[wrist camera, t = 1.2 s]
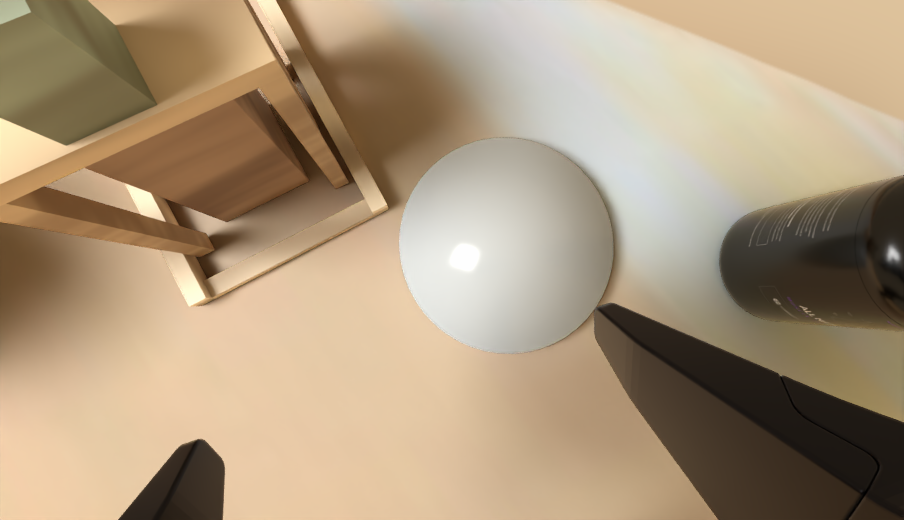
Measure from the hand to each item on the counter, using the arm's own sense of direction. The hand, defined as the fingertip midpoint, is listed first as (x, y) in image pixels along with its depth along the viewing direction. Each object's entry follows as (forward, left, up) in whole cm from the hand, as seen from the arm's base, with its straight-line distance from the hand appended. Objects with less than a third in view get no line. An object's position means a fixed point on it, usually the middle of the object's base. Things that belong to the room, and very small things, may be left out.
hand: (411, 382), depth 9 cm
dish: (+7, -1, -14) cm, 15 cm away
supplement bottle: (+16, -15, -14) cm, 26 cm away
